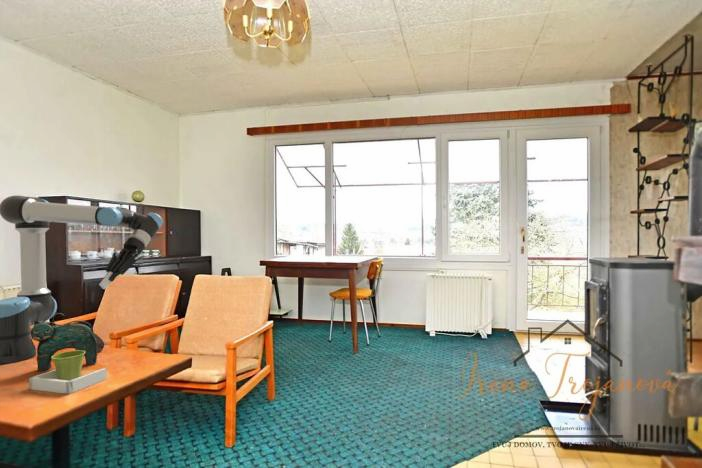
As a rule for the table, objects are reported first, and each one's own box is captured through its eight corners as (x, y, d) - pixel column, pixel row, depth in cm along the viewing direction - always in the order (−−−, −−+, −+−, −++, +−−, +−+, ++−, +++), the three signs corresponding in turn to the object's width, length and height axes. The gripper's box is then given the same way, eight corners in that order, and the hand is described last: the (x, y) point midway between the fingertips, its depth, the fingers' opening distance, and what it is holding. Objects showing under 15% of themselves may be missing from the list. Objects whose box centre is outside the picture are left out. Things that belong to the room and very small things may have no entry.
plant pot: (46, 387, 132) (46, 359, 132) (58, 377, 141) (57, 351, 141) (80, 383, 135) (80, 356, 135) (89, 374, 144) (89, 349, 144)
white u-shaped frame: (29, 389, 130) (29, 378, 130) (69, 375, 143) (68, 364, 143) (69, 394, 126) (68, 382, 126) (106, 379, 138) (106, 368, 138)
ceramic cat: (30, 373, 146) (29, 316, 146) (36, 368, 152) (35, 313, 152) (96, 365, 153) (95, 311, 153) (99, 360, 159) (98, 308, 159)
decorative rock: (68, 355, 167) (68, 328, 167) (74, 351, 173) (73, 325, 173) (102, 352, 171) (101, 326, 171) (106, 348, 176) (106, 323, 176)
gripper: (154, 249, 176) (121, 293, 160) (129, 248, 180) (95, 292, 164) (144, 236, 171) (109, 281, 155) (119, 236, 175) (83, 280, 159)
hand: (102, 287), depth 160 cm, fingers closed
